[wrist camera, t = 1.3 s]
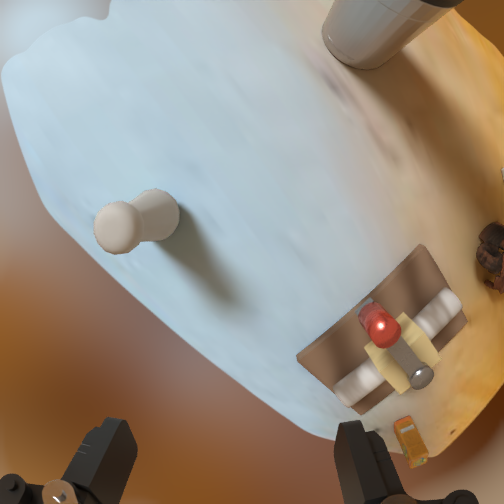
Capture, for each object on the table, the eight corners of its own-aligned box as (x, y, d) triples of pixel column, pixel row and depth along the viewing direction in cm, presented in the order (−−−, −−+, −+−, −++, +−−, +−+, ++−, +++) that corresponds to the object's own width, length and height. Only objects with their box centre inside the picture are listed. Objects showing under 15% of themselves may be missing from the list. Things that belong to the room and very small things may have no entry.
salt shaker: (180, 184, 33) (139, 186, 21) (188, 233, 34) (152, 262, 22) (134, 193, 33) (76, 201, 21) (142, 239, 35) (89, 269, 22)
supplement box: (392, 422, 42) (411, 460, 32) (409, 414, 41) (431, 451, 32) (392, 432, 42) (410, 470, 33) (409, 425, 42) (429, 461, 32)
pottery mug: (507, 217, 34) (540, 249, 28) (484, 261, 40) (511, 294, 34) (474, 217, 31) (513, 257, 25) (446, 270, 37) (478, 310, 31)
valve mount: (419, 243, 35) (457, 260, 26) (462, 317, 37) (494, 342, 29) (296, 355, 38) (305, 396, 30) (358, 409, 41) (373, 447, 32)
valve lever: (431, 369, 29) (451, 394, 24) (412, 386, 29) (430, 412, 24) (371, 290, 26) (393, 312, 21) (347, 311, 27) (365, 338, 22)
